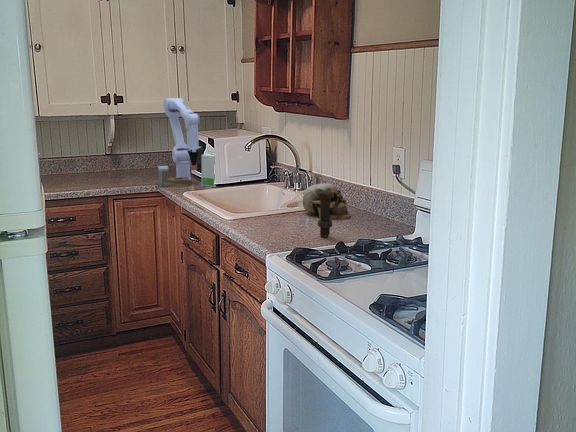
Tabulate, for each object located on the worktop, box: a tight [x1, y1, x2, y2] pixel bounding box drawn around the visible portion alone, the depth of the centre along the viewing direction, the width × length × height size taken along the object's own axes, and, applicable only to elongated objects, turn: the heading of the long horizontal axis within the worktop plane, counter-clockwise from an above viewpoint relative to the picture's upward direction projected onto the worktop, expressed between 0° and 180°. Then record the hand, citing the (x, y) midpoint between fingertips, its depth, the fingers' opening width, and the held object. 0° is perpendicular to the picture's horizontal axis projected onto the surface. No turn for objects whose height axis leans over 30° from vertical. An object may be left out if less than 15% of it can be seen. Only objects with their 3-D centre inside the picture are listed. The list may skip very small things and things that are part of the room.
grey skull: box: [302, 182, 352, 220], centre depth 230 cm, size 16×17×13 cm
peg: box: [190, 162, 198, 171], centre depth 305 cm, size 3×3×8 cm
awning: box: [157, 165, 169, 188], centre depth 299 cm, size 11×5×9 cm, turn 12°
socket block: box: [162, 176, 190, 188], centre depth 301 cm, size 10×13×3 cm
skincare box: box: [201, 153, 217, 188], centre depth 297 cm, size 8×7×16 cm
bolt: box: [317, 191, 334, 239], centre depth 196 cm, size 6×5×15 cm
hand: (193, 164), depth 305 cm, fingers closed on peg, 3 cm apart
